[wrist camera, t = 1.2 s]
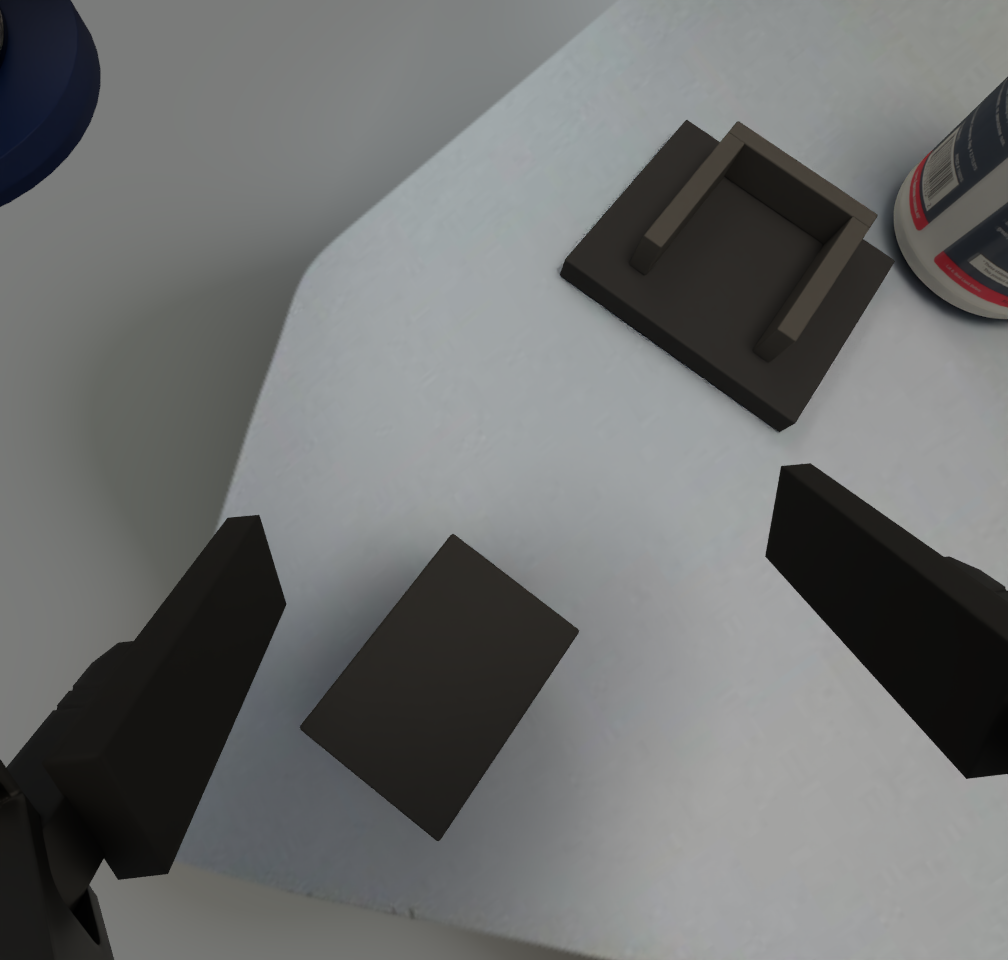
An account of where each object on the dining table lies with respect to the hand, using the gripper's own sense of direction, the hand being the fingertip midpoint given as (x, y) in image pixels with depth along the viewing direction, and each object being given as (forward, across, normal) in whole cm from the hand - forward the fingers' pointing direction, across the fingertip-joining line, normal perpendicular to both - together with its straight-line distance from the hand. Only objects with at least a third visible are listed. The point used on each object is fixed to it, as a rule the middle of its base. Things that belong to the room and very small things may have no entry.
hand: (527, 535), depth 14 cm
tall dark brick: (+8, -4, -12) cm, 15 cm away
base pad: (+23, +15, +3) cm, 28 cm away
